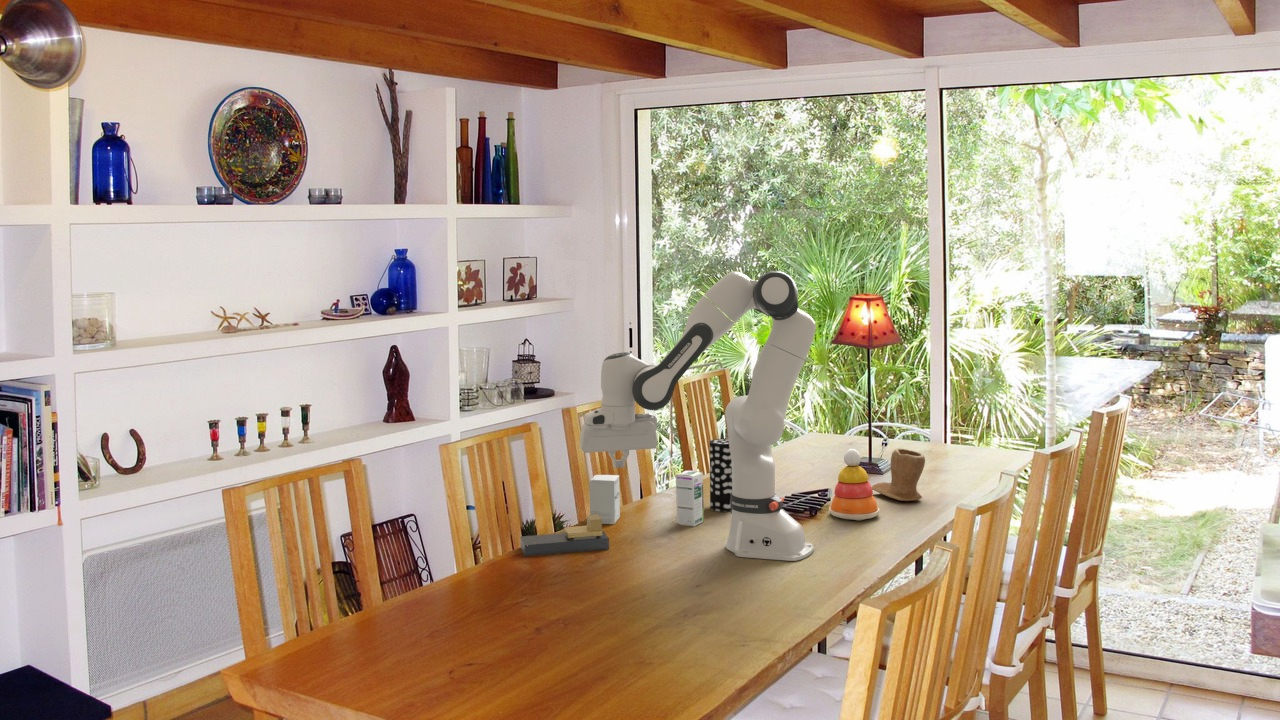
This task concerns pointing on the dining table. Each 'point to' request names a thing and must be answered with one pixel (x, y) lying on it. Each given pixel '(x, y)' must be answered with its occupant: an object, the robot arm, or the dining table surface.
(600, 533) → the lever cap
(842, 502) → the stacking toy
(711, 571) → the dining table surface
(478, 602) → the dining table surface
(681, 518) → the syrup box
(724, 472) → the spotted tube
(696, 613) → the dining table surface
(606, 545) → the body
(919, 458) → the brown top hat
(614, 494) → the supplement box
